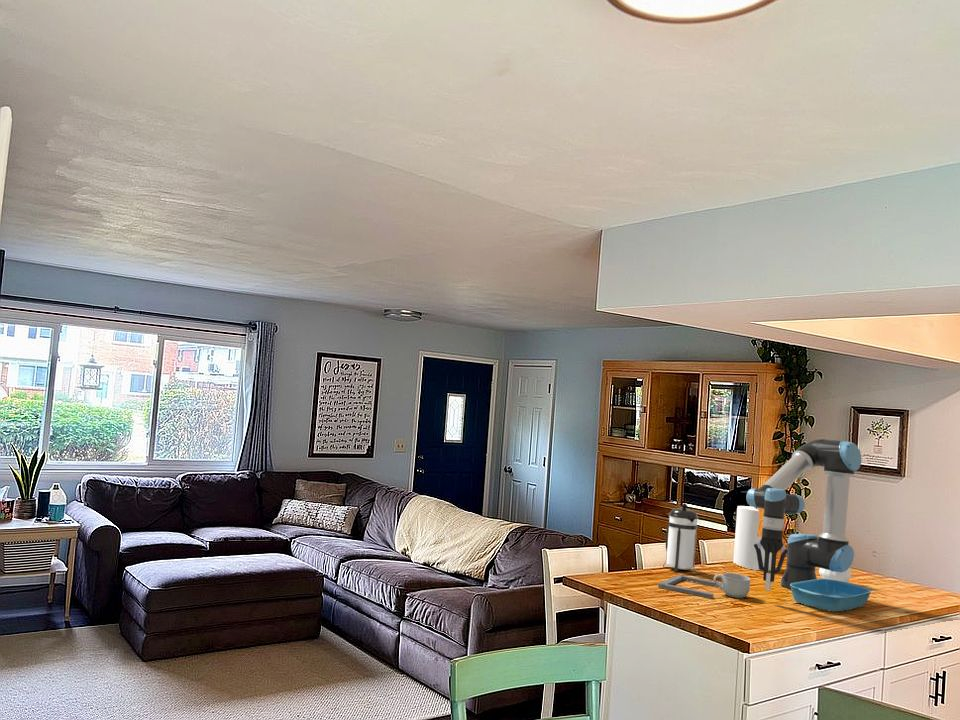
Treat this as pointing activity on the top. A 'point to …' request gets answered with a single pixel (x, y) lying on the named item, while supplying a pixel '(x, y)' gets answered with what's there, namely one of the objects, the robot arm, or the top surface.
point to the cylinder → (748, 538)
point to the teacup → (734, 584)
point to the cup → (835, 575)
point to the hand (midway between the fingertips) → (767, 589)
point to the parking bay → (669, 585)
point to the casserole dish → (829, 594)
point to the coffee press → (681, 538)
